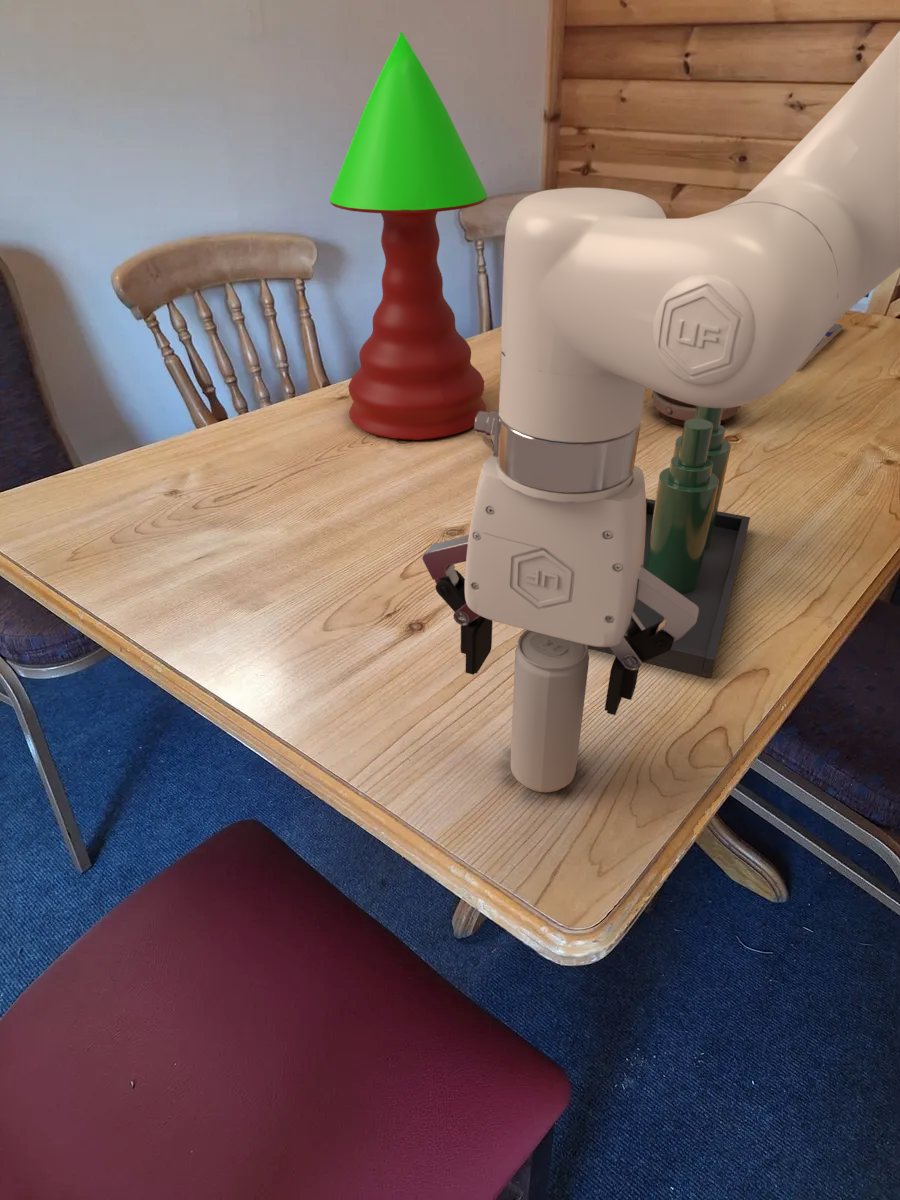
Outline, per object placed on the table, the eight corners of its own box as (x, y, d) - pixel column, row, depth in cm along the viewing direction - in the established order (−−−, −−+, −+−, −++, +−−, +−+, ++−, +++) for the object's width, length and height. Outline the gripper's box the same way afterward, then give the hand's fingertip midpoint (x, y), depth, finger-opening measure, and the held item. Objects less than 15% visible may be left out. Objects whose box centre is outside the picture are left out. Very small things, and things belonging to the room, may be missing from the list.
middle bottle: (702, 571, 77) (734, 416, 68) (693, 599, 74) (725, 439, 64) (649, 560, 79) (674, 408, 70) (638, 587, 75) (662, 430, 66)
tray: (746, 533, 84) (750, 516, 83) (710, 678, 65) (715, 659, 64) (639, 514, 88) (642, 497, 87) (576, 645, 69) (578, 626, 68)
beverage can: (535, 737, 60) (543, 613, 53) (588, 768, 57) (604, 641, 50) (496, 774, 57) (500, 647, 50) (550, 808, 55) (562, 679, 48)
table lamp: (378, 453, 102) (346, 30, 76) (331, 403, 117) (290, 33, 91) (510, 425, 109) (522, 27, 83) (450, 381, 124) (444, 31, 97)
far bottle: (714, 532, 83) (744, 386, 74) (706, 557, 79) (738, 405, 70) (665, 523, 85) (689, 379, 76) (655, 547, 81) (679, 397, 72)
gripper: (393, 447, 42) (405, 681, 52) (719, 508, 37) (662, 757, 47) (448, 398, 48) (449, 618, 58) (739, 446, 42) (684, 680, 52)
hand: (545, 680), depth 52 cm, fingers open, 9 cm apart
